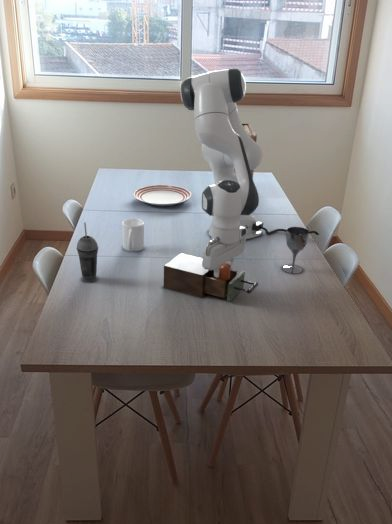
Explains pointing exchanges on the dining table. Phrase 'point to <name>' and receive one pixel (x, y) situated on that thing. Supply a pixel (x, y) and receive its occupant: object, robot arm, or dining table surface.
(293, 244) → the wine glass
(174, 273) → the cabinet
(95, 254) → the beverage cup
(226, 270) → the orange cylinder puck
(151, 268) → the dining table surface
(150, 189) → the dinner plate
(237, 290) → the drawer
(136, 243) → the mug
